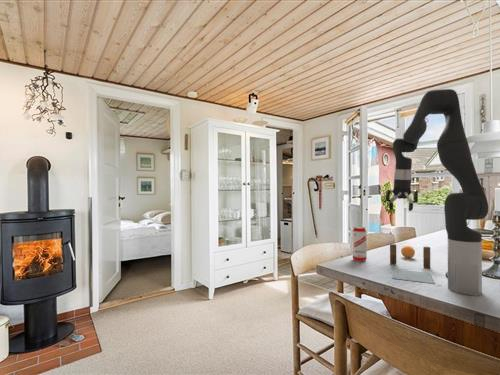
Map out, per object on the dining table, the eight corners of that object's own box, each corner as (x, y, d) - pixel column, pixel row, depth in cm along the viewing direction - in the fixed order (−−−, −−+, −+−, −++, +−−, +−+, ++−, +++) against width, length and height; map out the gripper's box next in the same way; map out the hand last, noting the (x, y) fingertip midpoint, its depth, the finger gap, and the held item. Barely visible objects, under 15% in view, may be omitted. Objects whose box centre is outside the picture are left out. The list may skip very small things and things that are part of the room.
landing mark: (435, 284, 101) (435, 283, 101) (391, 278, 107) (391, 278, 107) (430, 273, 113) (430, 273, 113) (392, 269, 120) (392, 268, 120)
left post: (396, 265, 126) (396, 245, 126) (390, 264, 127) (389, 244, 127) (396, 263, 128) (396, 244, 128) (390, 263, 129) (389, 243, 129)
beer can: (367, 262, 131) (367, 228, 131) (353, 261, 132) (353, 228, 132) (365, 259, 137) (364, 226, 137) (351, 258, 138) (351, 226, 138)
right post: (430, 268, 120) (430, 248, 120) (423, 268, 121) (423, 247, 121) (430, 267, 122) (429, 246, 122) (423, 266, 123) (423, 246, 123)
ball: (415, 260, 135) (415, 247, 135) (401, 258, 138) (401, 246, 138) (414, 257, 140) (414, 245, 140) (401, 255, 143) (400, 244, 143)
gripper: (389, 178, 137) (387, 211, 139) (421, 179, 134) (418, 212, 136) (385, 177, 144) (383, 208, 146) (415, 178, 141) (413, 209, 143)
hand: (400, 210), depth 141 cm, fingers open, 8 cm apart
